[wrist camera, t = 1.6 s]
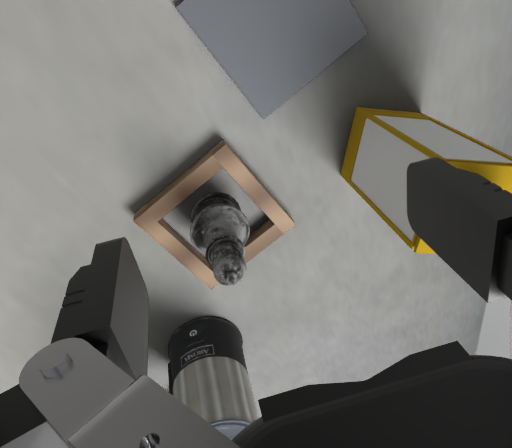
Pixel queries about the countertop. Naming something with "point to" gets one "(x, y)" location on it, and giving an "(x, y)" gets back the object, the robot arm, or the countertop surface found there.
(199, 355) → the milk frother
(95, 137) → the countertop surface
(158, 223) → the holder frame
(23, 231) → the countertop surface
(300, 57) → the slate mat
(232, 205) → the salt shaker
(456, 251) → the robot arm
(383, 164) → the soap bottle
